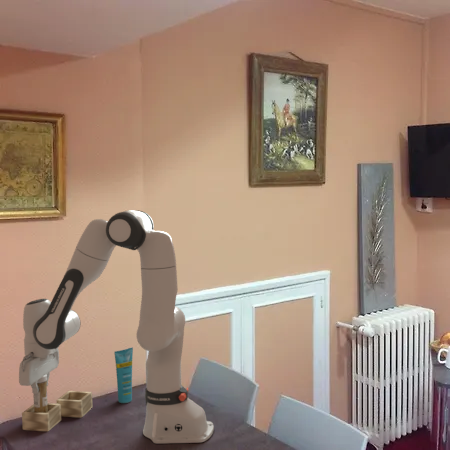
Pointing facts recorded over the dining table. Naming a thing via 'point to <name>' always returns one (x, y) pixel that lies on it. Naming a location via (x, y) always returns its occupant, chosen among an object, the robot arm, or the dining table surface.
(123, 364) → the tube
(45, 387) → the sprinkles bottle
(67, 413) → the open wooden box
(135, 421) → the dining table surface
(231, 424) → the dining table surface
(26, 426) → the open square wooden box
